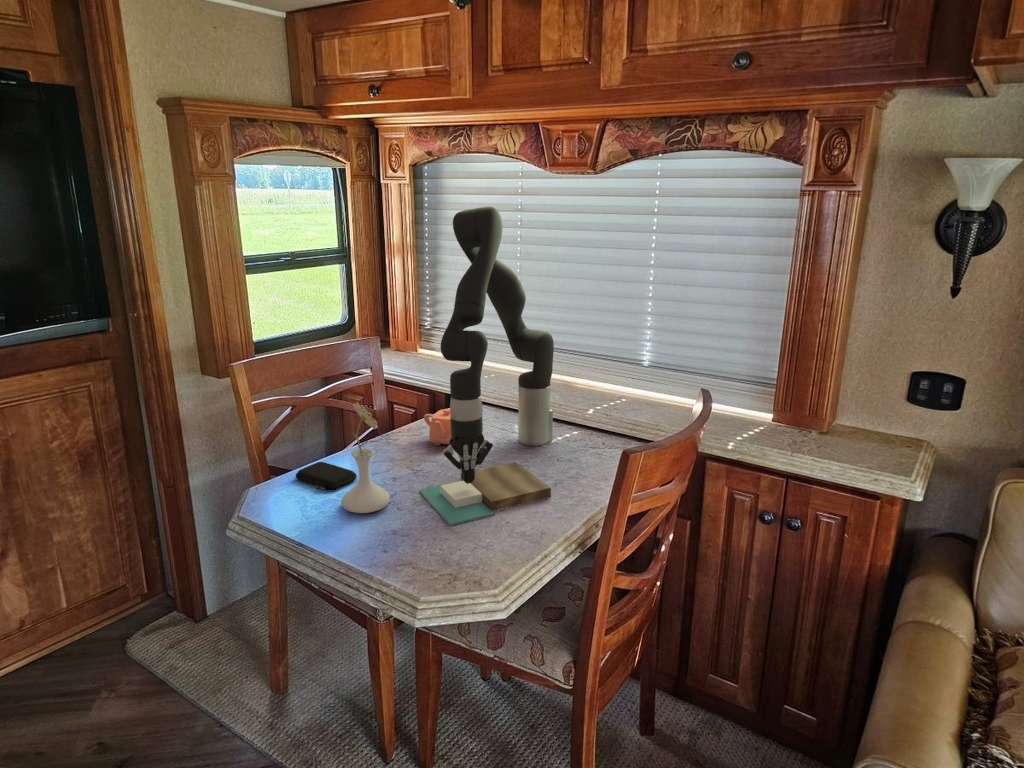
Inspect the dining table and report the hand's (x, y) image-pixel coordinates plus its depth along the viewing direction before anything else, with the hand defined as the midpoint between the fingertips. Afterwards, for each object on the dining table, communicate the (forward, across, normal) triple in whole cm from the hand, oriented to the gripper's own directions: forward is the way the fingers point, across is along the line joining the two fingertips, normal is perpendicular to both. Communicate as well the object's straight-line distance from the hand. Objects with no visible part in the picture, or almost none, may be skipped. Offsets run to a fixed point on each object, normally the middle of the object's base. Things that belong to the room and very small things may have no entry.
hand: (468, 482), depth 165 cm
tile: (+4, +2, 0) cm, 4 cm away
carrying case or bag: (+5, +29, -27) cm, 39 cm away
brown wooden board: (+4, -10, 0) cm, 11 cm away
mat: (+4, +4, +1) cm, 6 cm away
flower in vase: (+4, +23, -8) cm, 25 cm away
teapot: (+5, -10, -37) cm, 39 cm away
